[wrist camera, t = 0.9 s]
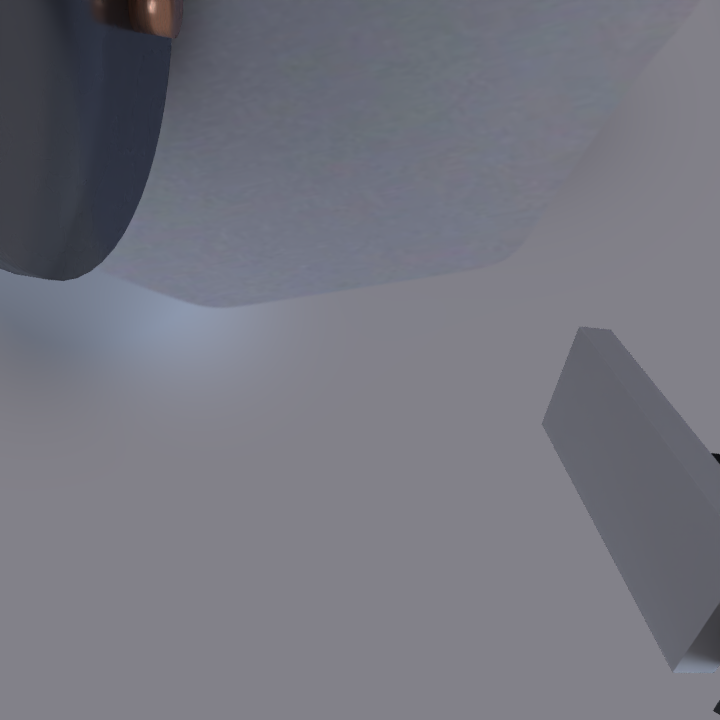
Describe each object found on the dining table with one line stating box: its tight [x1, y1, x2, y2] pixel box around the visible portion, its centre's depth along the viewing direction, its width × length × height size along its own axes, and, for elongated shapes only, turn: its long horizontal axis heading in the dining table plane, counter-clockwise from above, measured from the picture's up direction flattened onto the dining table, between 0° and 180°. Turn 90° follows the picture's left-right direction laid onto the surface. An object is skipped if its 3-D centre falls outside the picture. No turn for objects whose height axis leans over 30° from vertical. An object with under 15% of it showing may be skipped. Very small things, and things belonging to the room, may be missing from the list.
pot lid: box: [0, 0, 183, 281], centre depth 23 cm, size 20×24×3 cm
